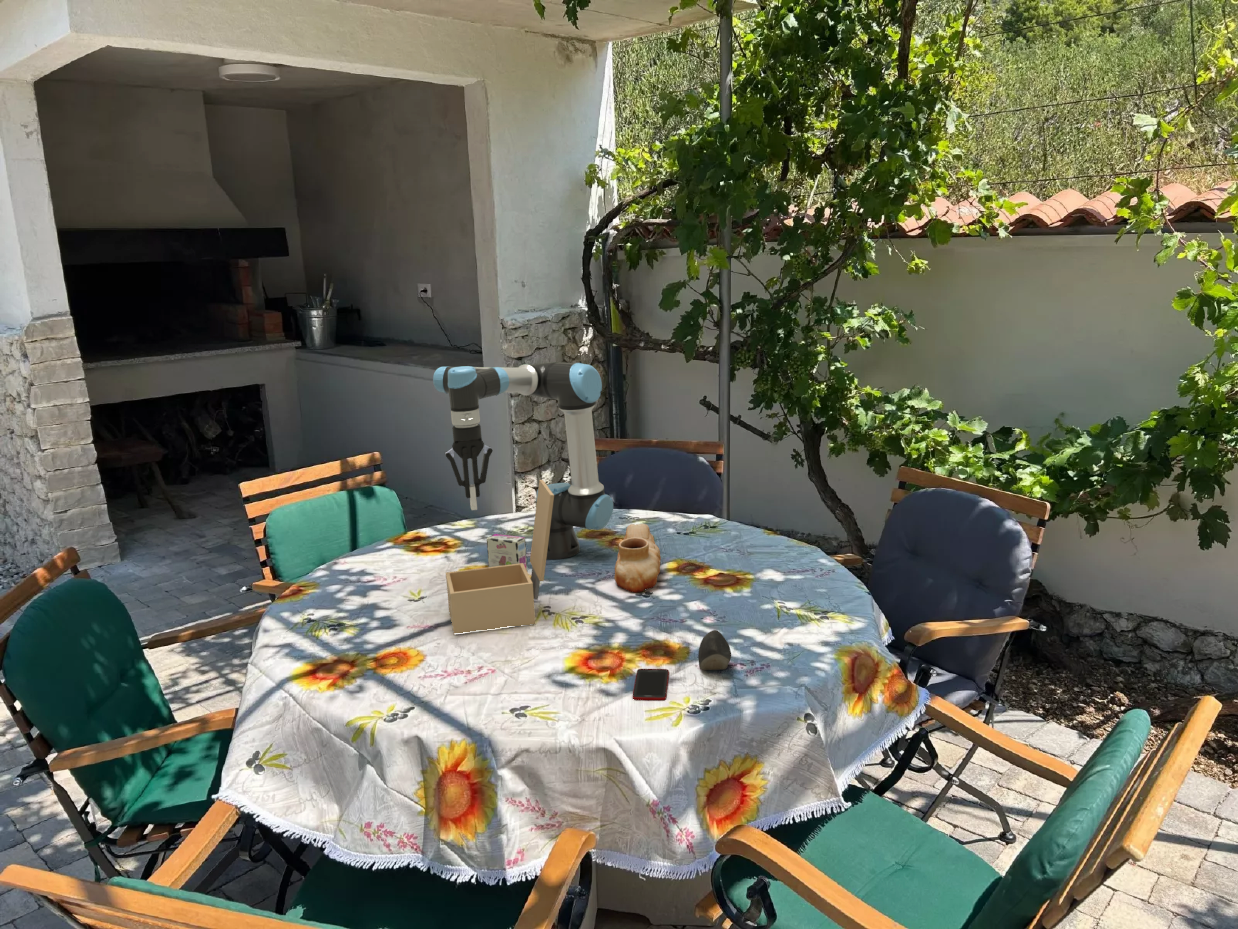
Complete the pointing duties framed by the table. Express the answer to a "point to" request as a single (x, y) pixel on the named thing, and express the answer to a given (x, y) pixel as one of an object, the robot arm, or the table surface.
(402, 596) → the table surface
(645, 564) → the ceramic vessel
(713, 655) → the stone
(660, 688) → the cell phone
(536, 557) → the lid
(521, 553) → the candy bar box
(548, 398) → the robot arm
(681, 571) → the table surface
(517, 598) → the carton
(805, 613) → the table surface
